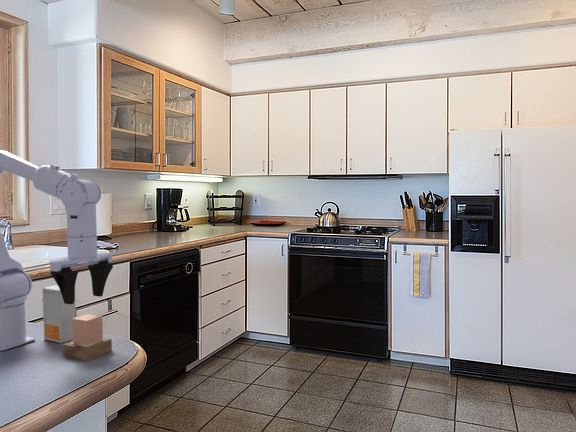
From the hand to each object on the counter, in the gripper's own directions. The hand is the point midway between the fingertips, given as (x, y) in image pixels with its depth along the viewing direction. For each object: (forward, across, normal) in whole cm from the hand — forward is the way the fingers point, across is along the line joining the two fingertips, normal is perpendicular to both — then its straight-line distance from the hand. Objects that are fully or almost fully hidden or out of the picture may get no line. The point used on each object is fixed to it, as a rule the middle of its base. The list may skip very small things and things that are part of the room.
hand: (84, 299), depth 98 cm
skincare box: (+11, +2, +10) cm, 15 cm away
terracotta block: (+8, -2, -4) cm, 9 cm away
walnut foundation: (+10, -2, -4) cm, 11 cm away
